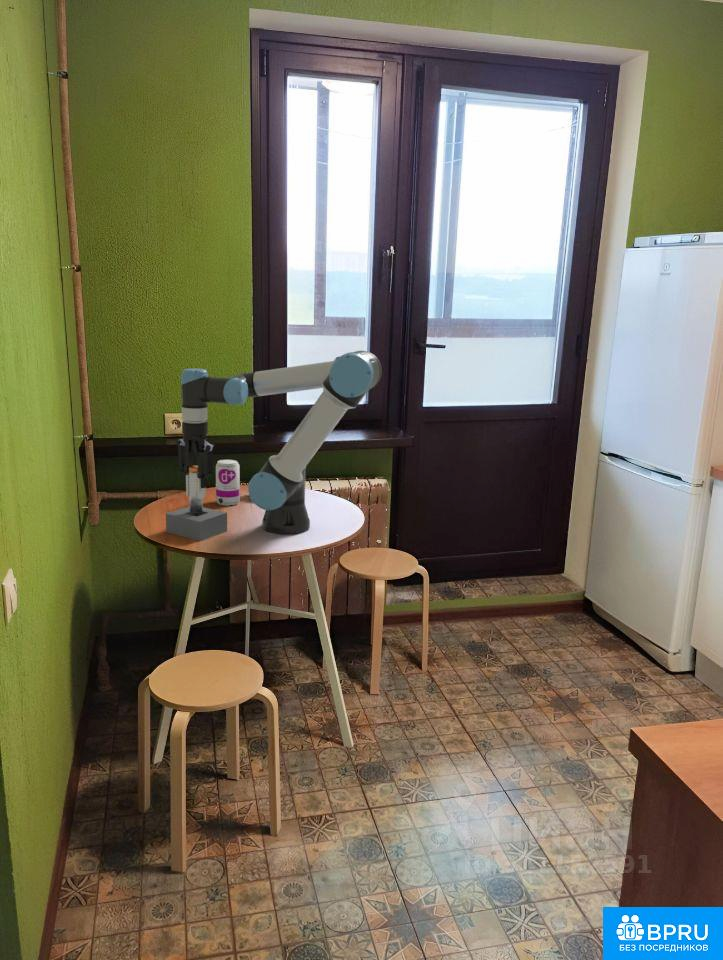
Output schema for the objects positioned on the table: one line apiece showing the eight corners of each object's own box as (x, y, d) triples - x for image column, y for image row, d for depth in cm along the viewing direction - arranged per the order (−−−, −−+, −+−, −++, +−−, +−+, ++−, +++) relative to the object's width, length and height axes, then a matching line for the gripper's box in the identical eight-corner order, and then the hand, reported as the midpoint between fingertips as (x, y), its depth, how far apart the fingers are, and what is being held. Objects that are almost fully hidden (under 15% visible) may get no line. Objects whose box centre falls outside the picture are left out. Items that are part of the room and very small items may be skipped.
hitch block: (227, 531, 230) (227, 512, 229) (200, 541, 220) (200, 521, 218) (193, 522, 237) (193, 505, 235) (166, 532, 227) (165, 513, 225)
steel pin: (205, 510, 228) (205, 466, 224) (196, 513, 224) (195, 469, 221) (195, 508, 230) (195, 464, 226) (186, 511, 226) (185, 467, 223)
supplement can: (237, 506, 257) (237, 464, 253) (213, 505, 257) (213, 463, 253) (241, 500, 265) (241, 459, 261) (218, 499, 265) (218, 458, 261)
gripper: (225, 422, 219) (225, 498, 225) (182, 416, 227) (184, 489, 233) (207, 426, 213) (208, 504, 218) (164, 419, 221) (166, 494, 227)
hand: (195, 496), depth 226 cm, fingers closed on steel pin, 4 cm apart
